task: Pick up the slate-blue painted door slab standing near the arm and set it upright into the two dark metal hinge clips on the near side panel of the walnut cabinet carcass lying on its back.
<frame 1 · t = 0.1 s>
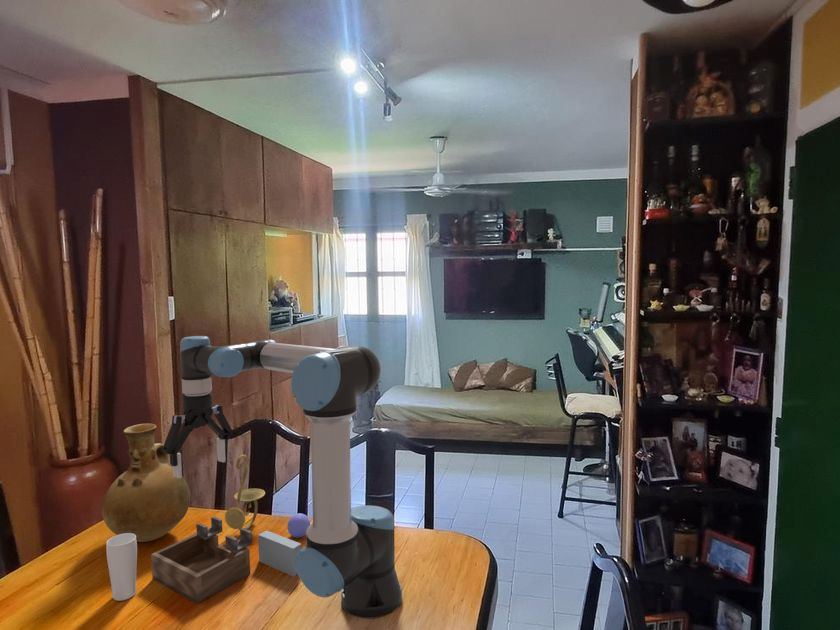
hand: (200, 468, 149), 28 cm above the table, fingers open, 13 cm apart
wall sconce: (247, 530, 172), on the table
drinking glass: (124, 596, 138), on the table
sphere: (299, 536, 168), on the table
vase: (149, 538, 167), on the table
door: (280, 566, 151), on the table
carcass: (201, 576, 146), on the table
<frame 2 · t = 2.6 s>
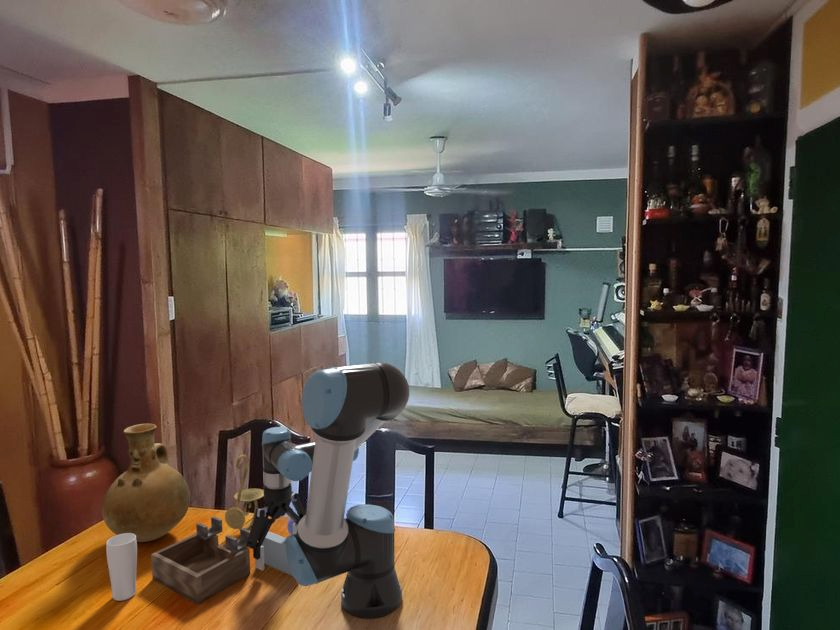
hand: (279, 557, 151), 2 cm above the table, fingers open, 13 cm apart
nothing on the table moved.
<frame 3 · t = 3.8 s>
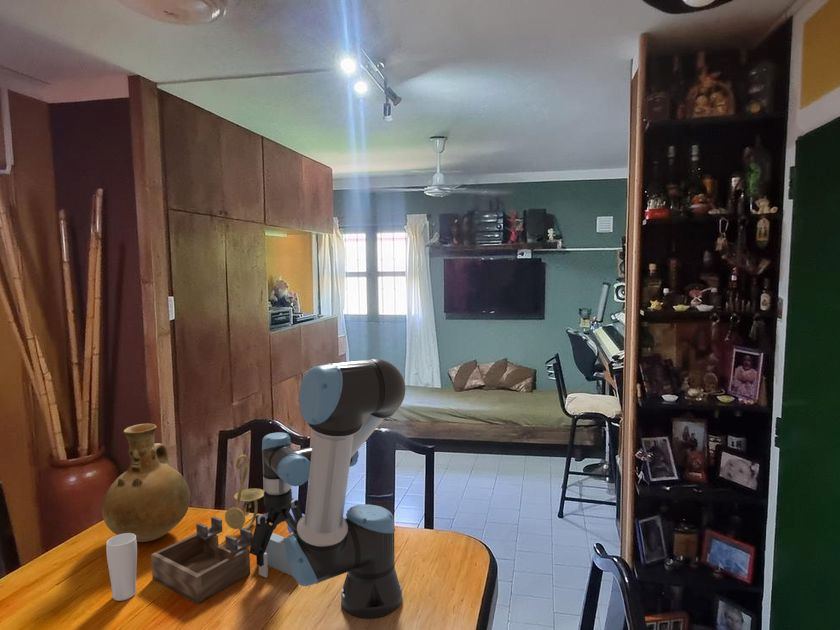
hand: (279, 565, 151), 0 cm above the table, fingers open, 11 cm apart
nothing on the table moved.
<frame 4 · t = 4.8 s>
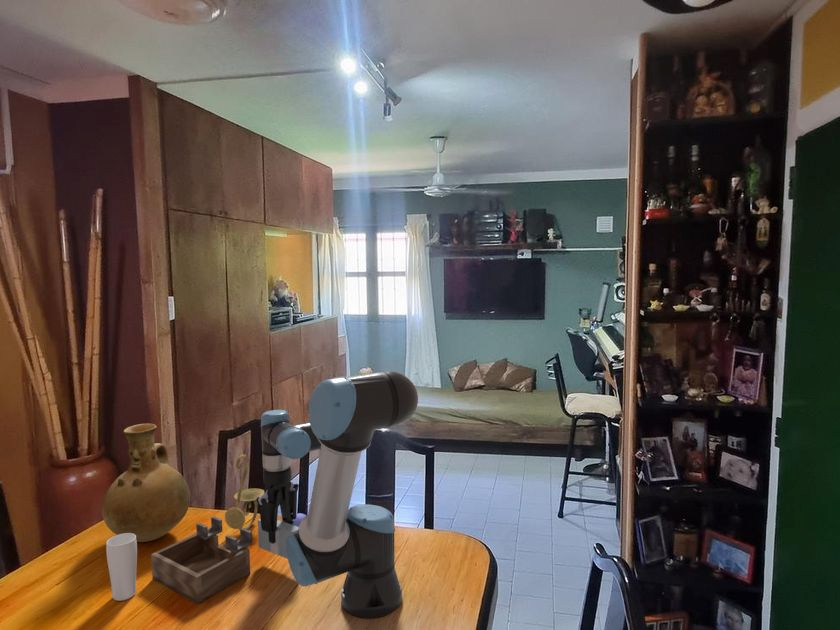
hand: (280, 549, 150), 5 cm above the table, fingers closed on door, 3 cm apart
door: (279, 551, 150), point 4 cm above the table, touching gripper
everything else where it was.
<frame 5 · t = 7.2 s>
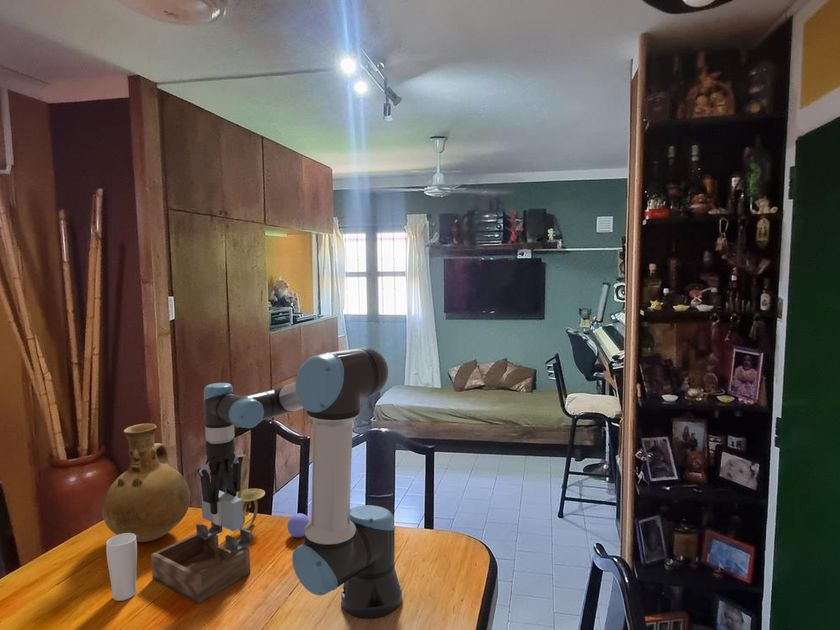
hand: (223, 521, 151), 12 cm above the table, fingers closed on door, 3 cm apart
door: (222, 522, 152), point 12 cm above the table, touching gripper
everything else where it was.
when the fingers open (8 cm above the table, at t = 8.5 s): door stays where it is, resting on carcass.
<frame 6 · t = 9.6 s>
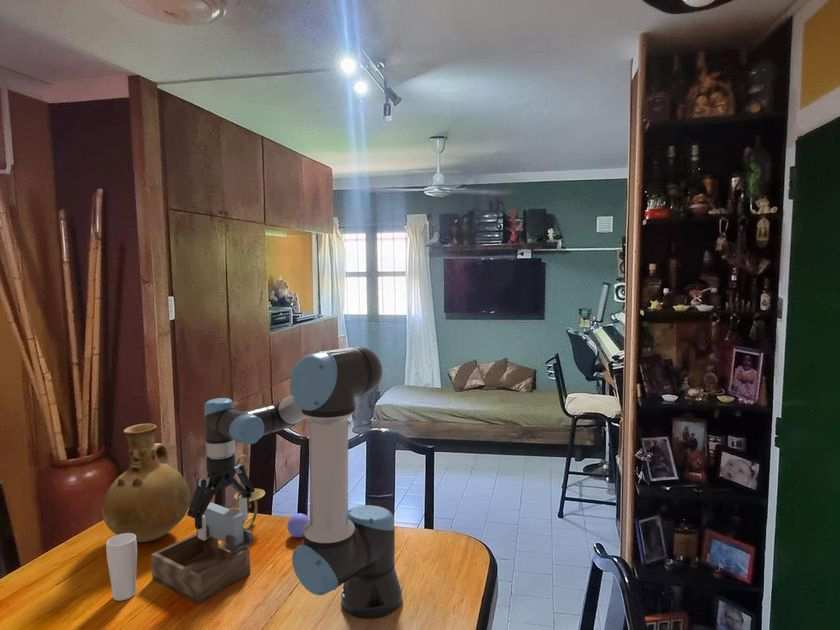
hand: (223, 528, 151), 10 cm above the table, fingers open, 13 cm apart
door: (223, 537, 152), point 8 cm above the table, touching carcass
everything else where it was.
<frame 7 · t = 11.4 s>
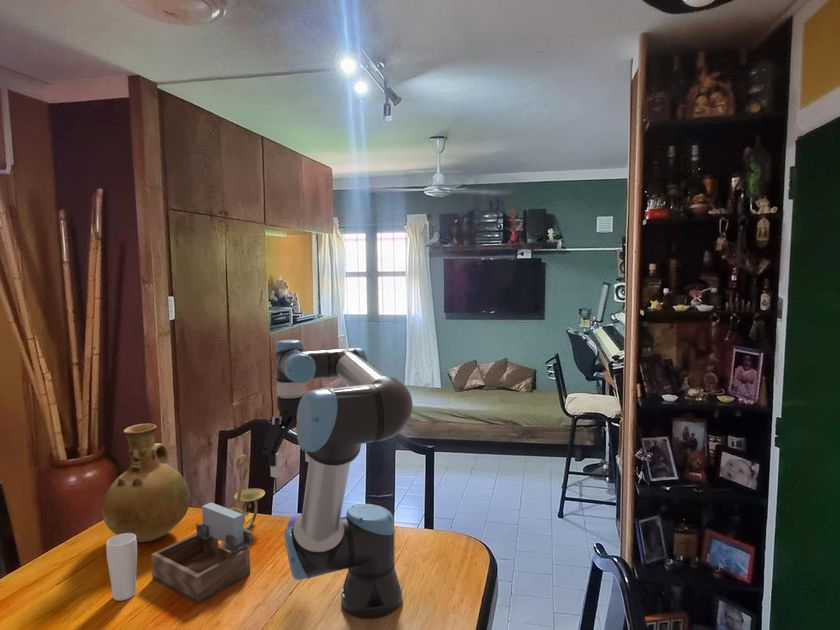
hand: (293, 469, 153), 26 cm above the table, fingers open, 13 cm apart
nothing on the table moved.
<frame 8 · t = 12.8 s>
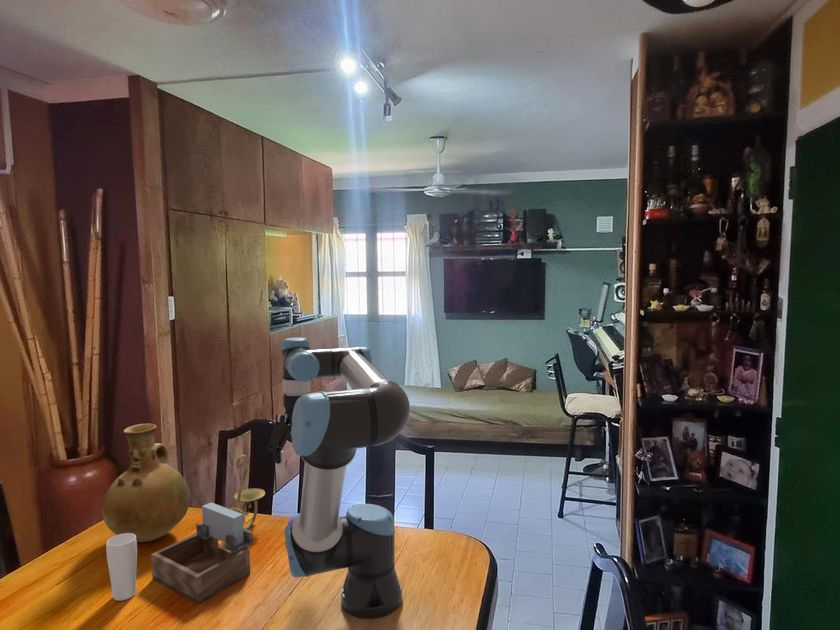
hand: (298, 466, 154), 27 cm above the table, fingers open, 13 cm apart
nothing on the table moved.
at the end: door 0.4 cm from the target spot on the carcass, point 7.6 cm above the carcass's base; door tilted 0°; the gripper is holding nothing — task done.
